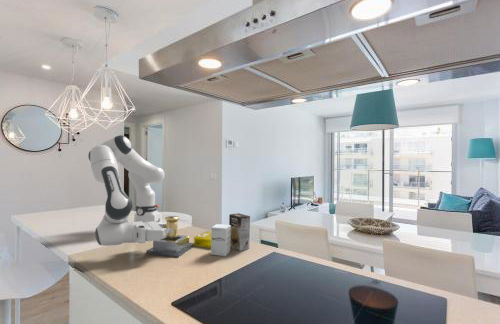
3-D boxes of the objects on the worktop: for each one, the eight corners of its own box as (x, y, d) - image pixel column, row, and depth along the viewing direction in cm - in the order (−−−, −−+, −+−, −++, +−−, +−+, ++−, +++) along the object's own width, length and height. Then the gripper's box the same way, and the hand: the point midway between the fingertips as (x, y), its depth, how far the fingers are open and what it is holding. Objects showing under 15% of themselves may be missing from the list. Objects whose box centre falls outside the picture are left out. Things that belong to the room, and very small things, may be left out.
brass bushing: (166, 244, 124) (166, 215, 125) (179, 244, 125) (179, 215, 125) (163, 248, 118) (164, 218, 118) (177, 248, 119) (177, 218, 119)
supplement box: (210, 255, 116) (210, 227, 116) (216, 249, 123) (216, 223, 123) (225, 256, 114) (226, 228, 114) (230, 251, 121) (231, 224, 121)
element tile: (218, 250, 124) (218, 240, 124) (192, 245, 130) (192, 236, 130) (231, 241, 138) (231, 232, 138) (207, 238, 143) (207, 229, 143)
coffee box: (228, 246, 128) (228, 214, 128) (238, 244, 132) (238, 212, 132) (239, 251, 121) (240, 217, 121) (250, 248, 126) (250, 215, 126)
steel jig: (165, 243, 131) (165, 232, 131) (194, 246, 128) (194, 235, 128) (146, 253, 116) (146, 241, 116) (178, 257, 112) (178, 244, 112)
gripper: (134, 233, 122) (164, 229, 130) (142, 244, 105) (175, 239, 112) (134, 220, 122) (164, 217, 130) (142, 229, 105) (175, 225, 112)
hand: (169, 227), depth 121 cm, fingers open, 8 cm apart
